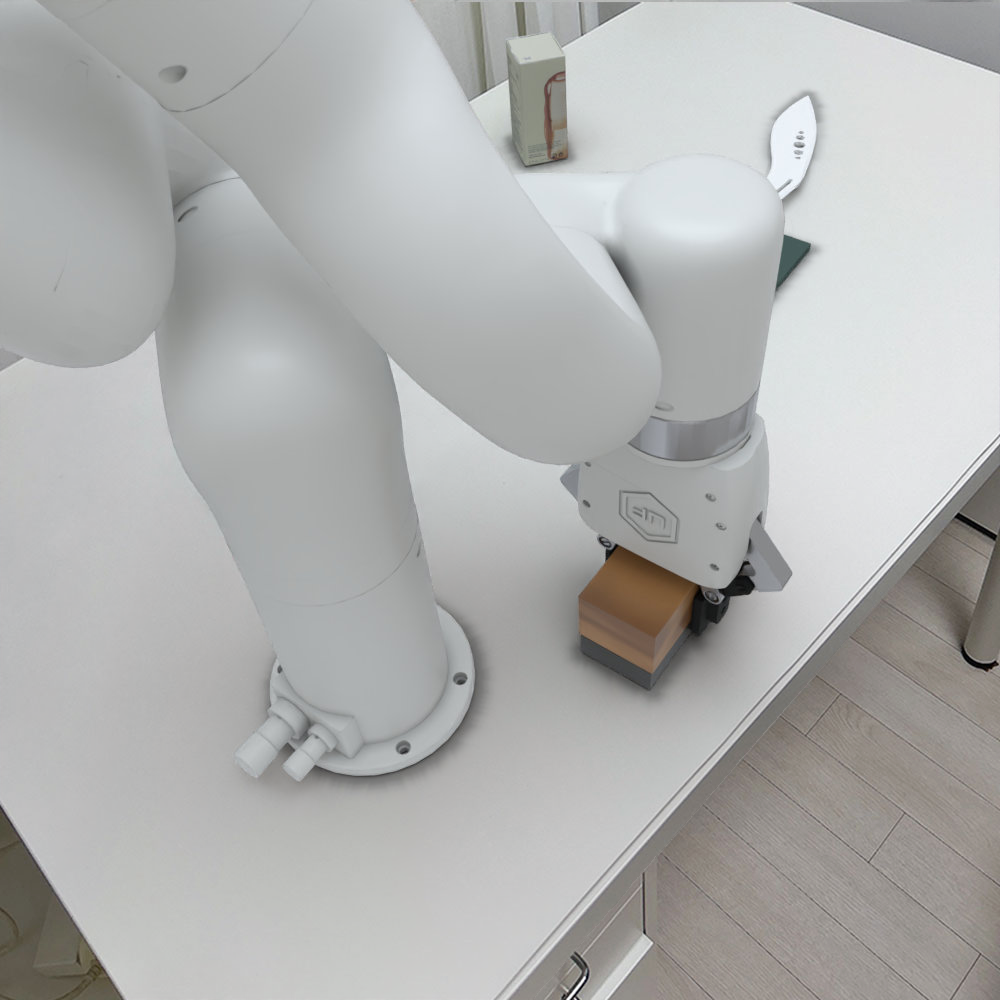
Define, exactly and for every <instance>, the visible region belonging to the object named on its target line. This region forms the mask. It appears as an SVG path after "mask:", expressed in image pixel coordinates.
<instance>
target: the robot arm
mask: <svg viewBox="0 0 1000 1000" xmlns="http://www.w3.org/2000/svg"><path fill="white" fill-rule="evenodd" d="M766 177H767V176H766V175H764V174H763V173H762V172H761V171H759V170H758V169H756V168H754V167H753V166H751V165H749V164H748V163H745V162H742V161H741V160H739V159H735V158H733V157H728V156H725V155H719V154H713V153H684V154H678V155H673V156H669V157H665V158H663V159H660V160H656V161H654V162H652V163H650V164H648V165H646V166H644V167H642V168H640V169H638V170H634V171H616V172H613V171H612V172H524V173H523V172H522V173H512V170H510V168H509V166H508V165H507V163H506V162H505V160H504V158H503V157H502V155H501V153H500V152H499V151H498V149H497V148H496V146H495V144H494V143H493V141H492V139H491V137H490V136H489V134H488V133H487V131H486V130H485V128H484V126H483V125H482V122H481V121H480V119H479V117H478V116H477V114H476V112H475V110H474V109H473V106H472V105H471V103H470V101H469V100H468V98H467V95H466V94H465V91H464V89H463V88H462V86H461V84H460V82H459V80H458V78H457V77H456V73H455V72H454V71H453V69H452V67H451V65H450V63H449V61H448V59H447V57H446V56H445V54H444V52H443V50H442V48H441V46H440V45H439V43H438V42H437V41H436V38H435V37H434V35H433V34H432V33H431V31H430V29H429V27H428V26H427V24H426V22H425V20H423V18H422V16H421V15H420V14H419V12H418V11H417V9H416V8H415V6H414V4H413V3H412V2H411V0H9V1H8V0H7V1H6V0H5V1H0V349H2V350H4V351H7V352H9V353H12V354H15V355H17V356H20V357H21V358H25V359H27V360H30V361H33V362H36V363H39V364H44V365H48V366H49V365H50V366H55V367H60V368H68V369H87V368H96V367H102V366H105V365H108V364H111V363H115V362H118V361H120V360H122V359H124V358H126V357H128V356H129V355H131V354H132V353H134V352H136V351H137V350H138V349H139V348H140V347H141V346H143V345H144V343H146V342H147V340H148V339H149V338H150V337H151V336H152V335H153V333H154V339H155V348H156V356H157V366H158V367H157V368H158V376H159V383H160V390H161V396H162V403H163V408H164V415H165V419H166V422H167V423H166V424H167V428H168V432H169V435H170V439H171V442H172V445H173V448H174V451H175V454H176V456H177V458H178V461H179V462H180V465H181V467H182V468H183V471H184V473H185V474H186V476H187V478H188V479H189V480H190V483H191V484H192V485H193V486H194V488H195V489H196V491H197V492H198V494H199V495H200V496H201V498H202V499H203V501H204V502H205V504H206V505H207V507H208V508H209V511H210V512H211V514H212V516H213V517H214V519H215V521H216V523H217V525H218V527H219V530H220V532H221V533H222V536H223V538H224V540H225V543H226V545H227V547H228V549H229V552H230V554H231V556H232V558H233V560H234V564H235V565H236V568H237V570H238V572H239V573H240V575H241V577H242V579H243V582H244V585H245V586H246V589H247V591H248V594H249V596H250V598H251V600H252V603H253V605H254V607H255V609H256V612H257V614H258V616H259V619H260V621H261V623H262V625H263V628H264V630H265V633H266V635H267V638H268V639H269V642H270V644H271V646H272V649H273V651H274V653H275V656H276V658H275V661H274V663H273V665H272V670H271V675H270V679H269V701H270V705H271V706H270V707H269V708H267V710H266V713H267V715H268V718H267V719H266V720H265V721H264V722H263V724H261V726H260V727H259V728H258V729H257V730H256V731H253V733H251V735H249V737H248V738H247V739H246V740H245V741H244V742H243V743H242V744H241V745H240V747H238V748H237V750H236V751H235V752H234V753H233V754H232V756H231V757H232V759H233V760H234V762H235V763H236V764H237V765H238V766H239V767H240V768H241V769H242V770H243V771H244V772H245V773H247V774H248V775H249V776H251V777H253V778H256V779H258V778H259V777H260V776H261V775H262V773H264V772H265V770H266V769H267V768H268V767H269V766H270V765H271V764H272V762H273V761H274V760H275V759H276V758H277V757H278V756H279V752H280V751H281V750H282V749H283V748H284V747H285V746H286V745H287V743H288V745H289V746H290V747H292V749H293V750H294V752H292V754H291V755H290V756H289V757H288V758H287V759H286V760H285V761H284V762H283V764H282V765H281V766H282V769H283V770H284V771H285V772H286V773H287V775H289V776H290V777H291V778H292V779H293V780H295V781H297V782H302V780H304V778H305V777H306V776H307V775H308V774H309V772H310V771H311V770H312V769H313V768H314V767H315V766H316V767H319V768H321V769H324V770H327V771H329V772H332V773H335V774H342V775H347V776H355V777H359V776H360V777H361V776H362V777H365V776H367V777H368V776H380V775H383V774H387V773H393V772H397V771H400V770H402V769H406V768H407V767H410V766H412V765H415V764H417V763H419V762H420V761H421V760H423V759H425V758H427V757H428V756H430V755H432V754H433V753H434V752H436V751H437V750H438V749H439V748H440V747H441V746H443V745H444V744H445V743H446V742H447V741H448V740H450V738H451V737H452V735H453V734H454V733H455V731H457V729H458V728H459V727H460V725H461V724H462V722H463V720H464V718H465V716H466V714H467V712H468V711H469V708H470V706H471V702H472V699H473V695H474V693H475V682H476V670H475V661H474V656H473V652H472V647H471V643H470V641H469V639H468V637H467V635H466V633H465V632H464V629H463V628H462V626H461V625H460V624H459V623H458V622H457V621H456V619H455V617H453V616H452V615H451V614H450V613H449V612H448V611H447V610H445V609H444V608H443V607H442V606H441V605H439V604H437V601H436V597H435V592H434V588H433V587H434V586H433V582H432V576H431V572H430V568H429V563H428V558H427V553H426V548H425V543H424V538H423V534H422V529H421V524H420V519H419V516H418V515H419V514H418V509H417V504H416V503H415V498H414V492H413V488H412V483H411V478H410V473H409V468H408V463H407V456H406V452H405V451H406V450H405V443H404V441H405V440H404V432H403V422H402V421H403V420H402V414H401V413H402V412H401V406H400V401H399V395H398V391H397V387H396V382H395V378H394V375H393V371H392V367H391V364H390V361H389V357H390V359H391V360H392V362H394V363H395V364H396V365H397V366H398V367H399V368H400V369H401V370H402V371H403V372H404V373H405V374H406V375H407V376H408V377H409V378H410V379H412V380H413V382H414V383H416V384H417V385H418V386H419V387H420V388H421V389H423V390H424V391H425V392H426V393H427V394H428V395H430V396H431V397H432V398H433V399H434V400H435V401H437V402H438V403H440V404H441V405H443V406H444V407H445V408H446V409H447V410H449V412H451V413H452V414H453V415H455V416H456V417H457V418H459V419H460V420H461V421H463V422H464V423H465V424H466V425H467V426H469V427H470V428H472V430H474V431H475V432H477V433H478V434H479V435H481V436H482V437H484V439H486V440H488V441H489V442H491V443H492V444H494V445H495V446H497V447H499V448H500V449H502V450H504V451H505V452H508V453H510V454H512V455H515V456H517V457H520V458H522V459H524V460H528V461H532V462H535V463H539V464H544V465H553V466H569V467H568V468H567V469H566V470H565V471H564V472H563V474H562V475H561V476H560V477H559V481H560V483H561V485H563V487H564V489H566V490H567V492H569V494H571V497H573V498H574V499H575V500H576V502H577V508H578V513H579V516H580V518H581V520H582V522H584V524H585V525H586V526H587V527H588V528H590V530H592V531H593V532H595V533H597V536H596V541H597V542H598V544H599V545H600V546H601V547H602V548H603V549H605V557H604V558H605V559H604V560H605V562H606V561H607V560H608V558H609V557H610V556H611V555H612V553H613V552H614V551H615V550H616V548H617V547H618V546H619V545H620V546H622V547H624V548H626V549H628V550H630V551H632V552H633V553H635V554H637V555H639V556H641V557H643V558H645V559H647V560H649V561H651V562H653V563H655V564H657V565H659V566H661V567H663V568H665V569H667V570H669V571H671V572H673V573H675V574H677V575H679V576H681V577H683V578H685V579H687V580H690V581H692V582H694V583H696V584H699V585H700V587H701V588H700V589H699V591H698V592H697V593H696V595H695V597H694V599H693V607H692V615H691V621H690V627H689V629H690V630H691V633H690V634H692V635H694V636H696V637H698V638H700V637H701V636H702V634H703V633H704V631H705V630H706V629H707V627H708V626H709V625H710V623H713V624H714V625H719V624H720V622H721V621H722V619H723V618H724V617H725V616H726V614H727V611H728V610H729V606H730V601H731V598H733V597H742V596H749V595H751V594H752V592H753V591H755V592H756V591H757V592H758V593H773V592H774V593H777V592H778V593H779V592H782V591H783V590H784V588H785V587H786V585H787V584H788V582H789V581H790V580H791V578H792V577H793V571H792V569H791V568H790V566H789V564H788V563H787V561H786V560H785V558H784V557H783V555H782V554H781V552H780V551H779V549H778V548H777V546H776V545H775V543H774V541H773V540H772V538H771V537H770V536H769V534H768V533H767V531H766V529H765V527H766V521H767V515H768V507H769V506H768V505H769V496H770V495H769V492H770V491H769V490H770V453H769V452H770V451H769V443H768V435H767V430H766V424H765V420H764V418H763V417H762V416H761V415H760V414H758V413H757V408H758V407H757V405H758V399H759V393H760V389H761V387H760V386H761V381H762V375H763V370H764V364H765V357H766V350H767V345H768V337H769V332H770V326H771V319H772V313H773V306H774V300H775V296H776V295H775V294H776V291H775V289H776V282H777V276H778V270H779V264H780V257H781V251H782V245H783V237H784V235H785V226H786V225H785V224H786V217H785V211H784V210H785V209H784V205H783V201H782V199H780V197H779V194H778V193H779V192H777V190H776V189H775V188H774V186H773V185H772V184H771V182H770V181H769V180H768V179H767V178H766ZM745 558H746V560H745ZM605 562H604V563H605ZM404 752H406V753H404Z"/></svg>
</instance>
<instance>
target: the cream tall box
mask: <svg viewBox="0 0 1000 1000" xmlns="http://www.w3.org/2000/svg"><path fill="white" fill-rule="evenodd" d="M505 51H506V52H505V53H506V61H507V62H506V64H507V65H506V66H507V79H508V95H509V111H510V124H511V139H512V142H513V145H514V147H515V149H516V151H517V153H518V155H519V157H520V159H521V161H522V162H523V165H524V166H525V167H527V166H532V165H538V164H543V163H549V162H553V161H554V162H555V161H558V160H563V159H568V158H569V138H568V108H567V106H568V105H567V76H566V75H567V74H566V73H567V72H566V71H567V69H566V66H567V65H566V54H565V51H564V50H563V48H562V46H561V44H560V43H559V41H558V40H557V38H556V37H555V35H554V34H553V33H552V31H550V30H549V31H544V32H537V33H532V34H527V35H526V34H525V35H521V36H515V37H508V38H505Z"/></svg>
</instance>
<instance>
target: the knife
mask: <svg viewBox="0 0 1000 1000" xmlns="http://www.w3.org/2000/svg"><path fill="white" fill-rule="evenodd" d="M817 132H818V130H817V120H816V114H815V110H814V107H813V103H812V100H811V98H810V96H809V95H806V96H803V97H801V98H800V99H799V100H797V101H796V102H794V103H792V105H790V106H788V108H786V109H785V110H784V111H783V112H782V113H780V115H779V116H778V118H777V119H776V120H775V122H774V124H773V126H772V129H771V133H770V155H771V165H770V169H769V172H768V174H767V176H765V177H766V178H767V179H768V180H769V181H770V182H771V184H772V185H773V186H774V188H775V189H776V190H777V192H778V194H779V197H780V199H781V200H783V199H784V198H785V197H787V195H789V194H790V193H791V192H793V190H796V189H797V188H799V187H800V186H801V183H802V181H803V180H804V178H805V175H806V173H807V170H808V168H809V165H810V163H811V160H812V157H813V153H814V149H815V145H816V141H817ZM798 145H799V146H803V147H797V146H798Z"/></svg>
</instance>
